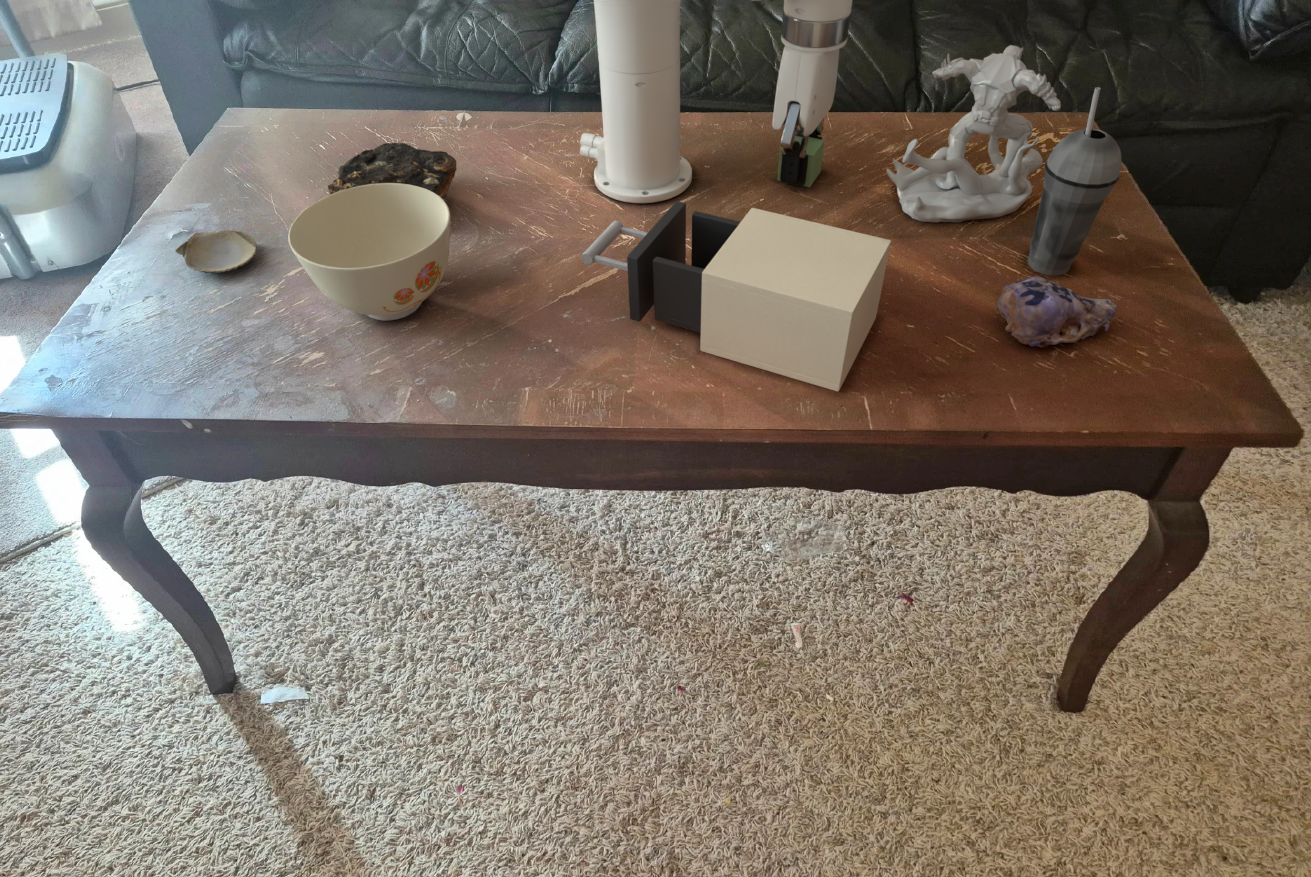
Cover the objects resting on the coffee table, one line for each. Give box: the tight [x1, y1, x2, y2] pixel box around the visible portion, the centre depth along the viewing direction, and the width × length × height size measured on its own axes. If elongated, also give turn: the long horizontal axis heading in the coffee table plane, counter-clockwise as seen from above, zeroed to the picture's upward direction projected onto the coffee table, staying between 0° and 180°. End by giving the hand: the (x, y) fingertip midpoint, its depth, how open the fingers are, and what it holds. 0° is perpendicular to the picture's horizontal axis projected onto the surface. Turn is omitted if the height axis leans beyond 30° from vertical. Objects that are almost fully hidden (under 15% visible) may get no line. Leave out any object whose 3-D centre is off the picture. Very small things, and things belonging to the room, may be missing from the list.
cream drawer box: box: [699, 207, 892, 393], centre depth 87 cm, size 15×13×10 cm
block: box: [776, 136, 826, 188], centre depth 112 cm, size 4×4×4 cm
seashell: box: [175, 230, 258, 274], centre depth 101 cm, size 8×3×8 cm
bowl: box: [287, 183, 451, 322], centre depth 92 cm, size 16×16×10 cm
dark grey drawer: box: [580, 200, 741, 334], centre depth 91 cm, size 20×11×8 cm, turn 64°
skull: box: [994, 276, 1118, 348], centre depth 88 cm, size 12×8×6 cm, turn 85°
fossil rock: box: [327, 141, 457, 201], centre depth 108 cm, size 14×14×6 cm
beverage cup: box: [1027, 86, 1122, 276], centre depth 91 cm, size 7×7×20 cm
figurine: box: [885, 44, 1062, 223], centre depth 102 cm, size 18×13×18 cm
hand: (799, 172), depth 113 cm, fingers closed on block, 4 cm apart
